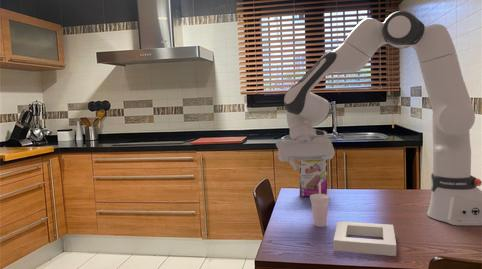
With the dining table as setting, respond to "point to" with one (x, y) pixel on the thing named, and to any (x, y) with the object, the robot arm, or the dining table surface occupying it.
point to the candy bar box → (312, 177)
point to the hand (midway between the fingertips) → (309, 168)
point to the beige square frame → (362, 244)
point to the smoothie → (319, 207)
